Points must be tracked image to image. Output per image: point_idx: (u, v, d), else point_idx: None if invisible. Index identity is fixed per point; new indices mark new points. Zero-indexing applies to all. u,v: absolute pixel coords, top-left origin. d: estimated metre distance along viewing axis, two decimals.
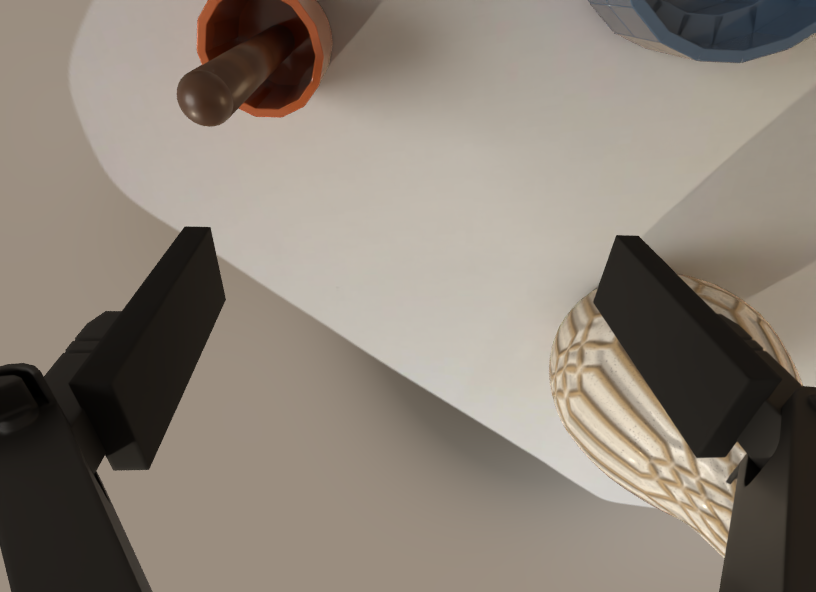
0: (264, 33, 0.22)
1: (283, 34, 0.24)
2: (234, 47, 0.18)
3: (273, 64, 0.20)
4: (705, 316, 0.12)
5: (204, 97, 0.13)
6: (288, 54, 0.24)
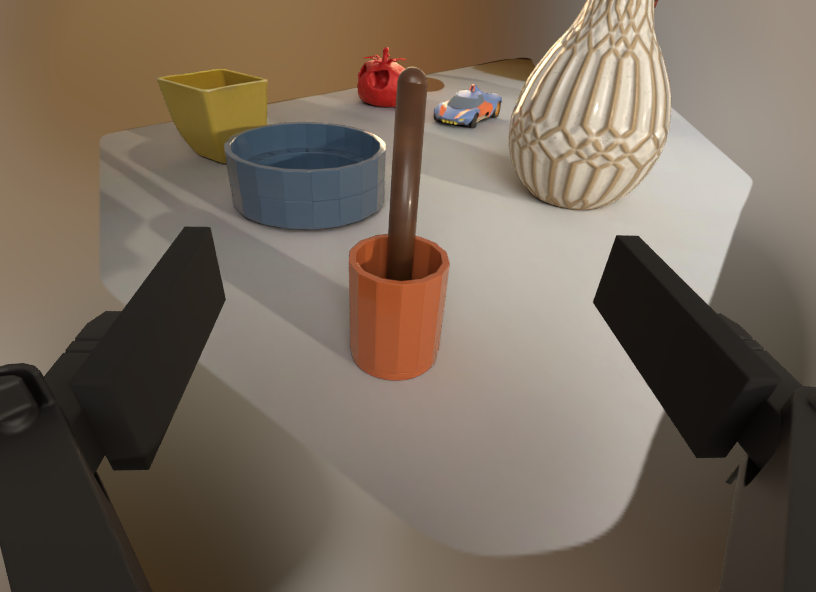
0: None
1: None
2: (391, 182, 0.26)
3: None
4: (705, 316, 0.11)
5: None
6: None
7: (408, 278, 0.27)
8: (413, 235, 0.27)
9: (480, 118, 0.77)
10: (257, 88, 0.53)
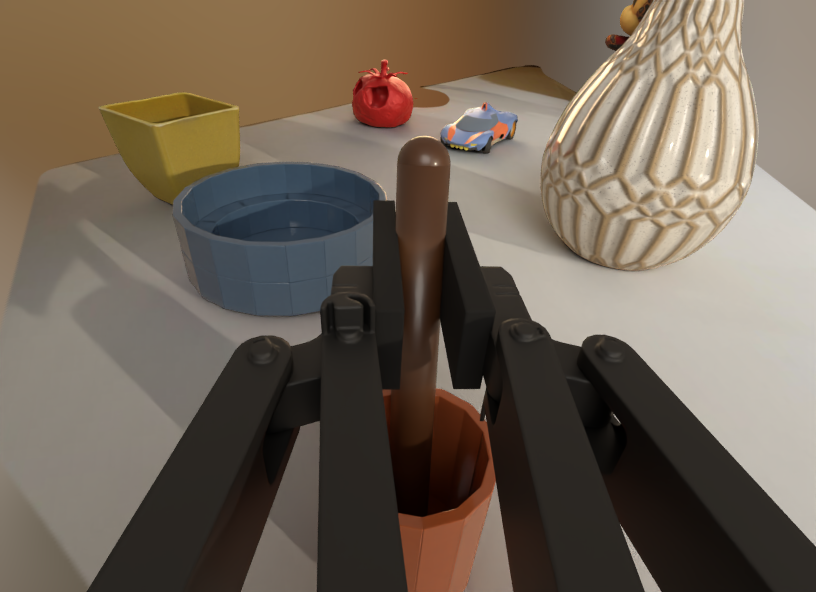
0: None
1: None
2: None
3: None
4: (466, 264, 0.13)
5: None
6: None
7: (426, 463, 0.17)
8: (432, 400, 0.16)
9: (494, 141, 0.67)
10: (226, 118, 0.42)
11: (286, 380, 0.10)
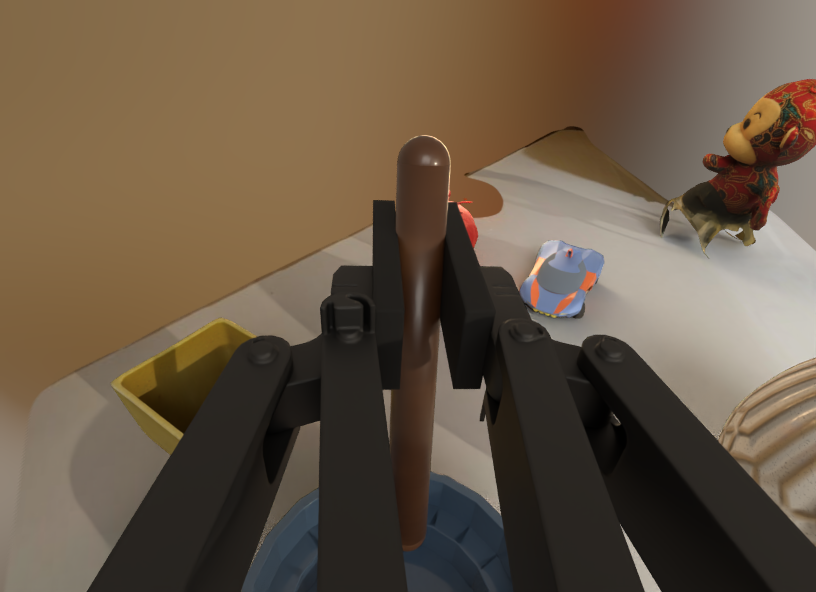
0: None
1: None
2: None
3: None
4: (466, 264, 0.13)
5: None
6: None
7: (426, 463, 0.17)
8: (432, 400, 0.16)
9: None
10: None
11: (286, 380, 0.10)
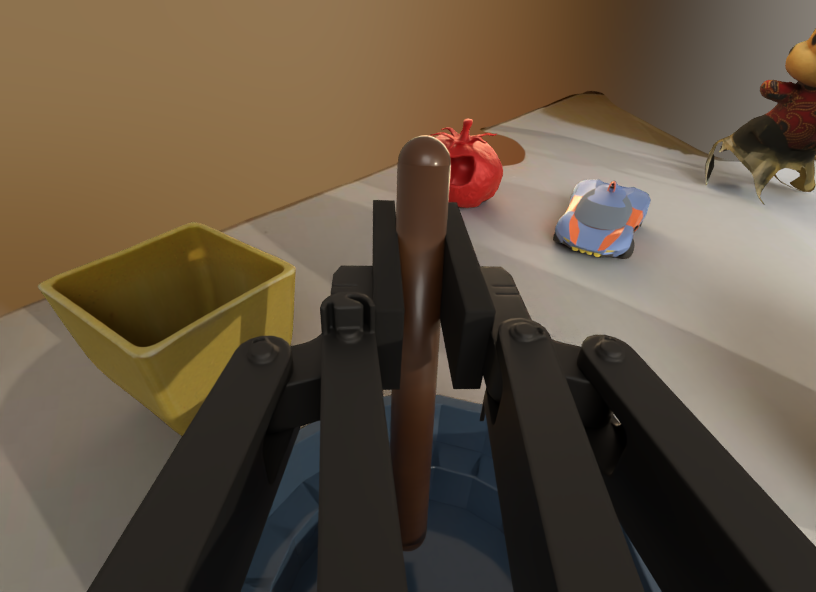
0: (390, 436, 0.17)
1: None
2: None
3: None
4: (466, 264, 0.13)
5: None
6: None
7: (426, 463, 0.17)
8: (432, 400, 0.16)
9: None
10: (274, 294, 0.23)
11: (286, 380, 0.10)
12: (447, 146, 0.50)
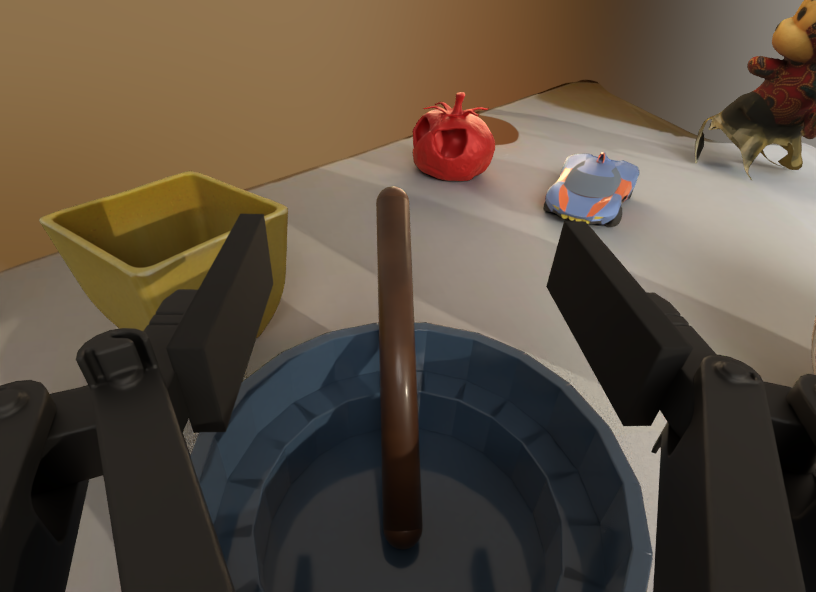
0: None
1: None
2: (378, 304, 0.21)
3: None
4: (633, 293, 0.12)
5: None
6: None
7: (408, 428, 0.19)
8: (409, 365, 0.20)
9: None
10: (267, 231, 0.24)
11: None
12: (440, 119, 0.51)
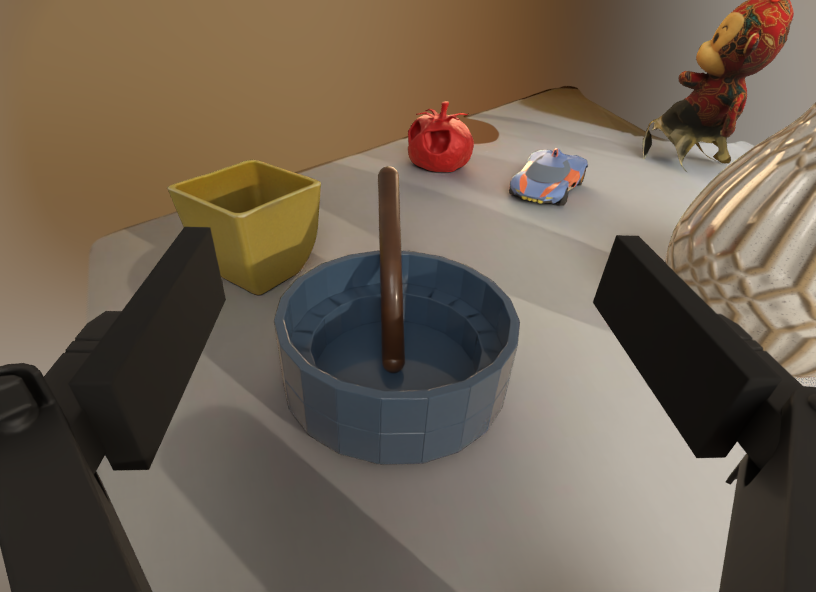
0: None
1: None
2: (379, 237, 0.34)
3: None
4: (705, 316, 0.12)
5: None
6: None
7: (397, 305, 0.32)
8: (397, 271, 0.33)
9: None
10: (308, 196, 0.38)
11: None
12: (429, 123, 0.65)
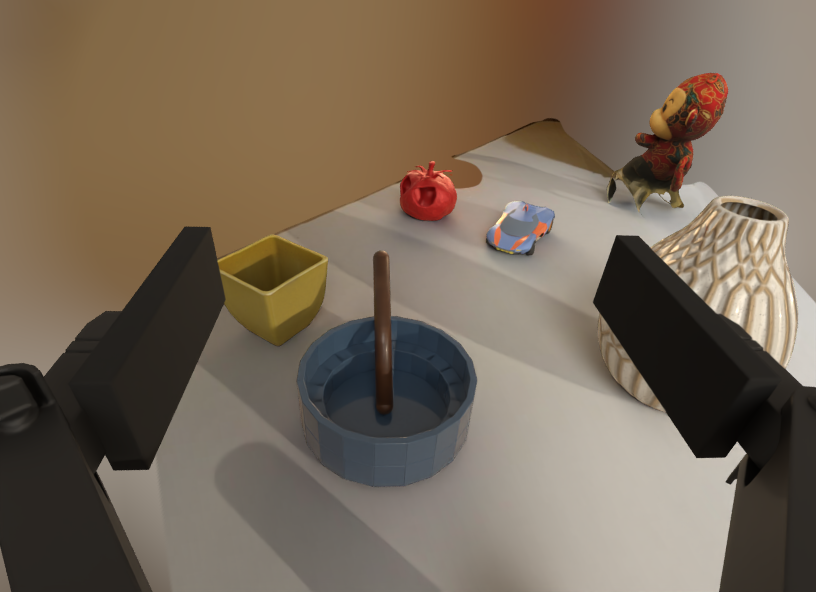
0: None
1: None
2: (374, 307, 0.45)
3: None
4: (705, 316, 0.12)
5: None
6: None
7: (387, 363, 0.43)
8: (388, 335, 0.43)
9: (535, 240, 0.72)
10: (318, 270, 0.48)
11: None
12: (418, 179, 0.75)
